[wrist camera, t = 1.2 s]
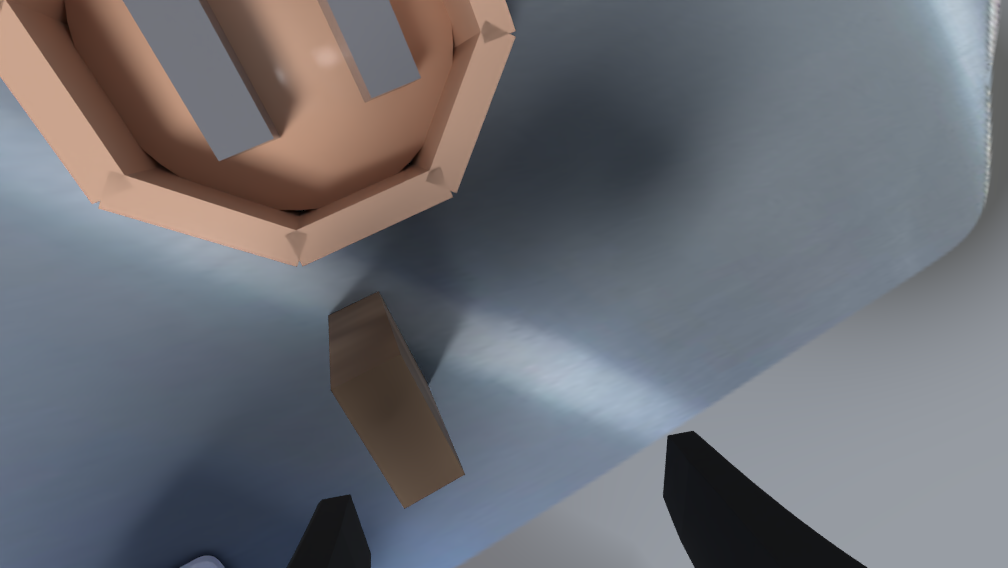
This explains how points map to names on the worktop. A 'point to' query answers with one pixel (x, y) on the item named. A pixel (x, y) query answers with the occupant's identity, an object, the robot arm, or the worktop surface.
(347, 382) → the brown rectangular block
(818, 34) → the worktop surface
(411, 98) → the tan octagonal tray
